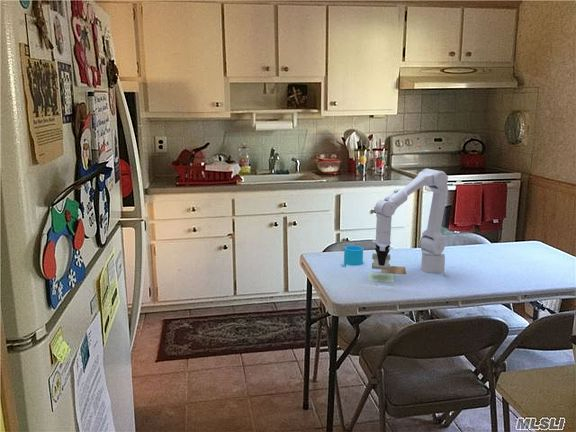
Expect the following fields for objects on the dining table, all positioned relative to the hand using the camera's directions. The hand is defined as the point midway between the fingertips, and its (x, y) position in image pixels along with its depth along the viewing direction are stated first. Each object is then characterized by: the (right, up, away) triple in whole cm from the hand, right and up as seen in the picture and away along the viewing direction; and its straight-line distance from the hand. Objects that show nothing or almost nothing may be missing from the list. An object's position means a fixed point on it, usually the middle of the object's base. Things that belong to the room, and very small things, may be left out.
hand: (381, 263), depth 206 cm
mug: (-9, -3, +22) cm, 24 cm away
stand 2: (+7, -5, +11) cm, 14 cm away
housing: (0, -2, 0) cm, 2 cm away
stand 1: (0, -7, +2) cm, 7 cm away
